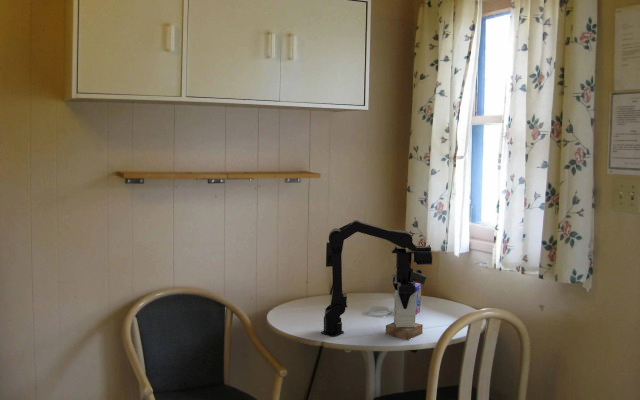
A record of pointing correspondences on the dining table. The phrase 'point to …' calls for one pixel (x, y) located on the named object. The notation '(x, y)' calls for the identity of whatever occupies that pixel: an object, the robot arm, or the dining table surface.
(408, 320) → the supplement box
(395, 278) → the robot arm
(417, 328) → the walnut block
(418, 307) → the ink cartridge box
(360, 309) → the dining table surface
